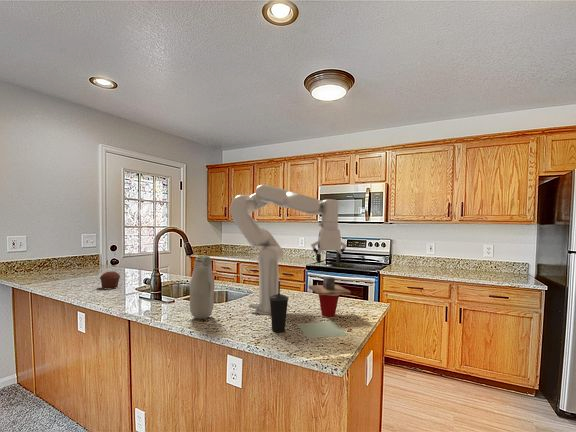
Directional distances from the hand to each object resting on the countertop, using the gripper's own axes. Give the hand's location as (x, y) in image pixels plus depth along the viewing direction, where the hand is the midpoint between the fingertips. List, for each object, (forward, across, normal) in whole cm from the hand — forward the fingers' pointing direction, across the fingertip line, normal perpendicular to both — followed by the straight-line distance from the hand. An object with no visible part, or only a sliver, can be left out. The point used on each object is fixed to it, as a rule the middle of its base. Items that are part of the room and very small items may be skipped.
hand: (328, 262), depth 138 cm
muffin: (+28, -116, +84) cm, 146 cm away
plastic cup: (+25, +1, 0) cm, 25 cm away
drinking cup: (+25, -26, -15) cm, 40 cm away
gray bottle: (+26, -56, +9) cm, 63 cm away
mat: (+25, -9, -17) cm, 32 cm away
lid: (+13, 0, 0) cm, 13 cm away
